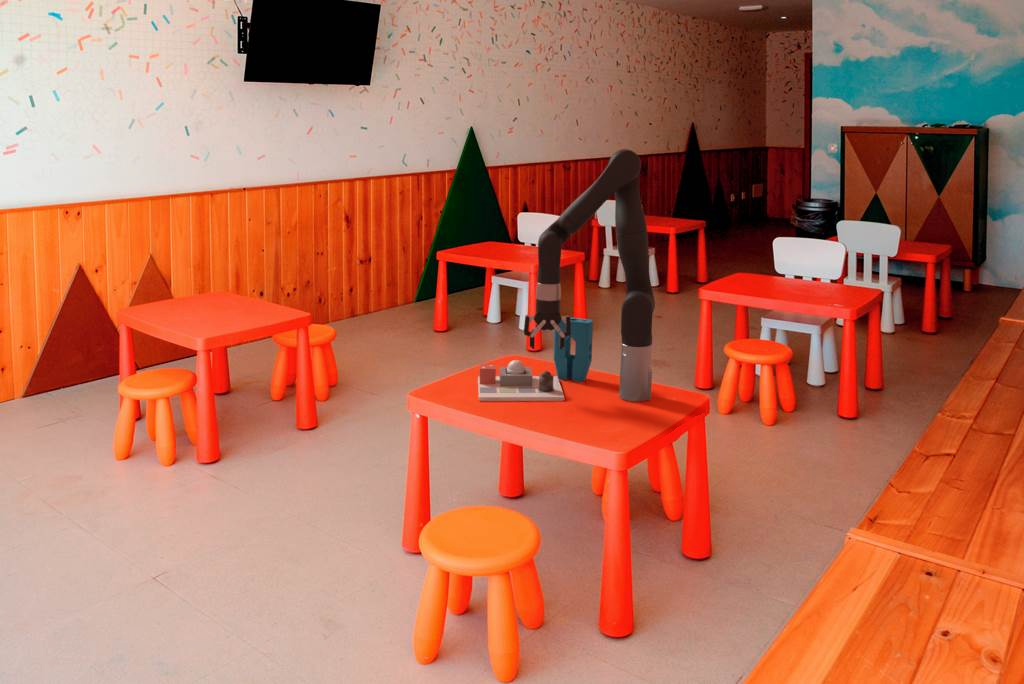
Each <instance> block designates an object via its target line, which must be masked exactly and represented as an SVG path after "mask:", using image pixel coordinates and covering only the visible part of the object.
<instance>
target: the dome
mask: <svg viewBox="0 0 1024 684" xmlns="http://www.w3.org/2000/svg"><path fill="white" fill-rule="evenodd" d="M506 367H507V374H524V370H525V368H524V367H525V366H524V364H523V362H522V361H521V360H518V359H513V360H511V361H510V362H509V363H508V365H507V366H506Z"/></svg>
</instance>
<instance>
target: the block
mask: <svg viewBox="0 0 1024 684" xmlns="http://www.w3.org/2000/svg"><path fill="white" fill-rule="evenodd" d="M570 322H571V335H570V336H566V337H565V342H564V347H562V349H559V339H560V335H559V333H558V332H557V331H556V329H553V332H554V333H553V335H554V336H553V363H554V367H555V370H556V371H555V372H556V376H557V377H558V380H559V381H567V380H568V379H571V380H572V382H574V383H575V382H577V383H583V382H584V381H586V379H587V377H588V374H589V371H590V367H591V363H592V362H593V361H592V360H593V359H592V357H593V355H592V354H593V329H594V320H593V319H588V318H577V317H570ZM558 326H559V327H560V328H561V330H562V331H563V332H565V331H566V323H564V321H563V320H561V322H560V323H559V324H558ZM572 340H573V341H574V343H575V344H574V345H575V346H574V347H575V350H574V352H575V353H574V354H572V353H571V347H572V346H571V343H572V342H571V341H572Z"/></svg>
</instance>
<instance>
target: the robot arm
mask: <svg viewBox="0 0 1024 684" xmlns="http://www.w3.org/2000/svg"><path fill="white" fill-rule="evenodd" d="M641 169H642V162H641V158H640V156H638V154H637V153H636V152H634V151H633V150H631V149H626V148H623V149H619V150H616V151H615V152H614V153H613V154H612V155H611V157H610V158H609V161H608V164H607V166H606V167H605V169H604V170H603V172H602V173H601V174H600V176H599V177H598V178H597V179H596V180H595V181H594V182H593V183H592V184H591V185H590V186H589V187H588V188H587V189H586V190H585V191H584V192H582V193H581V194H580V195H579V196H578V197H576V199H575V200H573V201H572V202H571V204H570V205H569V206H567V208H566V209H565V210H564V211H563V212H562V213H561V214H560V215H559V217H558V218H557V219H556V220H555V221H554V222H553V223H551V224H550V225H549V226H548V227H547V228H546V229H544V230H543V232H542V233H541V234H540V235H539V237H538V240H537V241H538V243H537V255H538V257H537V261H538V266H537V274H536V276H537V277H536V281H537V282H536V289H535V314H534V315H528V314H526V315H524V325H523V334H524V336H527V337H529V346H530V347H529V348H531V349H532V350H535V342H536V341H535V340H536V338H535V336H536V335H537V334H538V332H540V330H542V331H547V330H549V331H554V329H556V331H557V332H558V333H559V335H560V339H559V349H562V347H564V342H565V337H566V336H570V335H571V322H570V314H566V315H564V316H563V315H561V303H562V302H561V298H562V288H561V286H562V285H561V280H562V279H561V257H562V248H563V245H564V244H565V243H566V242H567V241H568V240H569V239H570V237H571V236H573V235H574V234H576V233H578V232H579V231H580V229H582V227H584V225H585V224H586V223H588V222H589V220H590V219H591V218H592V217H593V216H594V215H595V214H596V213H597V211H598V210H599V209H600V208H601V207H602V206H603V205H604V203H606V202H607V200H608V199H609V198H611V197H612V196H613V195H614V198H615V200H614V201H615V211H614V212H615V213H614V214H615V215H614V216H615V217H614V218H615V237H616V246H617V251H618V255H619V259H620V262H621V265H622V267H623V271H624V276H625V299H624V300H623V302H622V304H621V312H620V313H621V316H620V317H621V318H620V335H621V344H620V345H621V347H620V349H621V350H620V366H619V367H620V370H619V390H618V392H619V394H618V398H620V399H622V400H625V401H628V402H645V401H651V398H652V381H653V380H652V379H653V369H652V367H651V366H652V353H653V351H652V350H653V349H652V348H653V333H652V332H653V331H652V330H653V329H652V328H653V314H654V310H655V308H656V301H655V296H654V293H653V292H654V291H653V288H652V283H651V278H650V277H651V276H650V255H649V254H650V253H649V249H650V248H649V238H648V237H649V235H648V229H647V228H648V227H647V221H646V216H645V211H644V208H643V204H642V199H641V193H640V172H641ZM561 320H563V321H564V323H566V331H565V332H563V331H562V330H561V328H560V327H559V326H558V324H559V323H560V322H561ZM533 321H534V322H535V323H536V324H535V325H534V327H533V328H532V330H530V324H532V322H533Z"/></svg>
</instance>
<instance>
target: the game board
mask: <svg viewBox="0 0 1024 684" xmlns="http://www.w3.org/2000/svg"><path fill="white" fill-rule="evenodd" d="M539 376H540V375H538V376H537V375H532V386H500V378H499V375H497V376H496V384H480V375H479V376H477V387H478V389H477V390H478V391H477V392H478V401H479V402H532V401H533V402H546V401H547V402H549V401H550V402H560V401H561V402H562V401H565V395H564V392H563V390H562V386H561V384H560V379H558V376H557V375H553V391H551V392H542V391H540V390H539Z"/></svg>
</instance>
